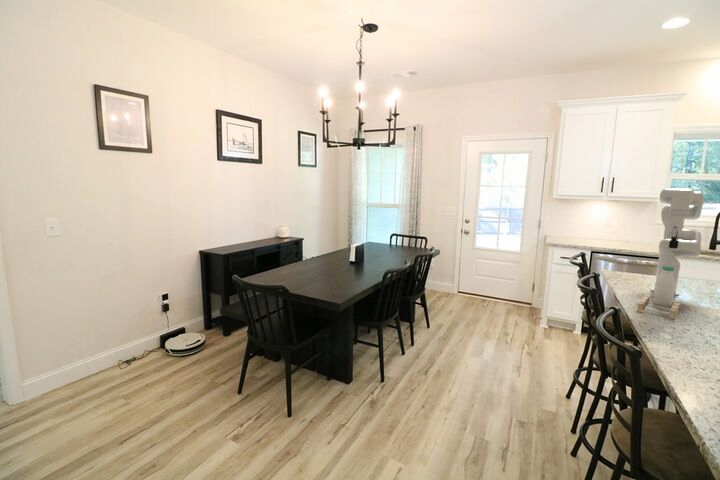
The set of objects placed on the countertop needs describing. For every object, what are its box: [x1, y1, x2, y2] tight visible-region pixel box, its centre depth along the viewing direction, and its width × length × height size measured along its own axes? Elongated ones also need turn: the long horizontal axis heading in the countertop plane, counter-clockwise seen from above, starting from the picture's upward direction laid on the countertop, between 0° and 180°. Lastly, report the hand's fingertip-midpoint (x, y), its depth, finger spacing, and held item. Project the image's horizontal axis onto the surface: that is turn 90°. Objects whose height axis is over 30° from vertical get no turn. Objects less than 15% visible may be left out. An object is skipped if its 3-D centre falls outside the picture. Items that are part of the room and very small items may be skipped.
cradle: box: [636, 294, 682, 320], centre depth 172 cm, size 20×14×4 cm
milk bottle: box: [652, 266, 675, 306], centre depth 180 cm, size 8×8×20 cm
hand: (673, 247), depth 183 cm, fingers closed
